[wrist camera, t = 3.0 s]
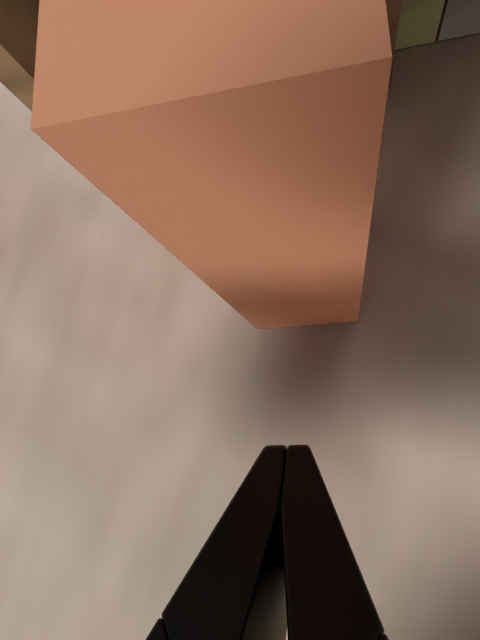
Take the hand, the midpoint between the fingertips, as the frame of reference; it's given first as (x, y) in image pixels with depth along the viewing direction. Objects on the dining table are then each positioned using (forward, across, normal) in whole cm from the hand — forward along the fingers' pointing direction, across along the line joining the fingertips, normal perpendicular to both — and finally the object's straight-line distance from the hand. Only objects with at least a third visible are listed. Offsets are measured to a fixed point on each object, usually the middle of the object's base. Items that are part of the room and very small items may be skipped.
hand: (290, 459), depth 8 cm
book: (+10, 0, -1) cm, 10 cm away
